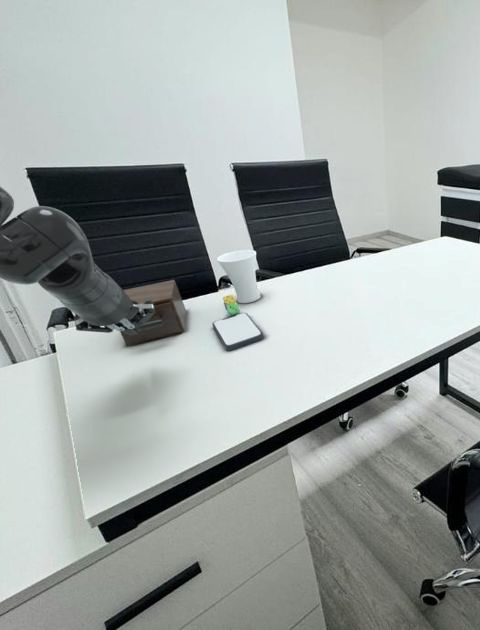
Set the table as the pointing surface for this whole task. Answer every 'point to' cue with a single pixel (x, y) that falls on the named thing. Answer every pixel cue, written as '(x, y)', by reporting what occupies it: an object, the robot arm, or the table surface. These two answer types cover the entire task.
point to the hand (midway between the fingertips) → (133, 330)
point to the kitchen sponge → (231, 305)
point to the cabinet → (160, 301)
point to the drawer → (156, 324)
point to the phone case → (237, 331)
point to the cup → (241, 273)
